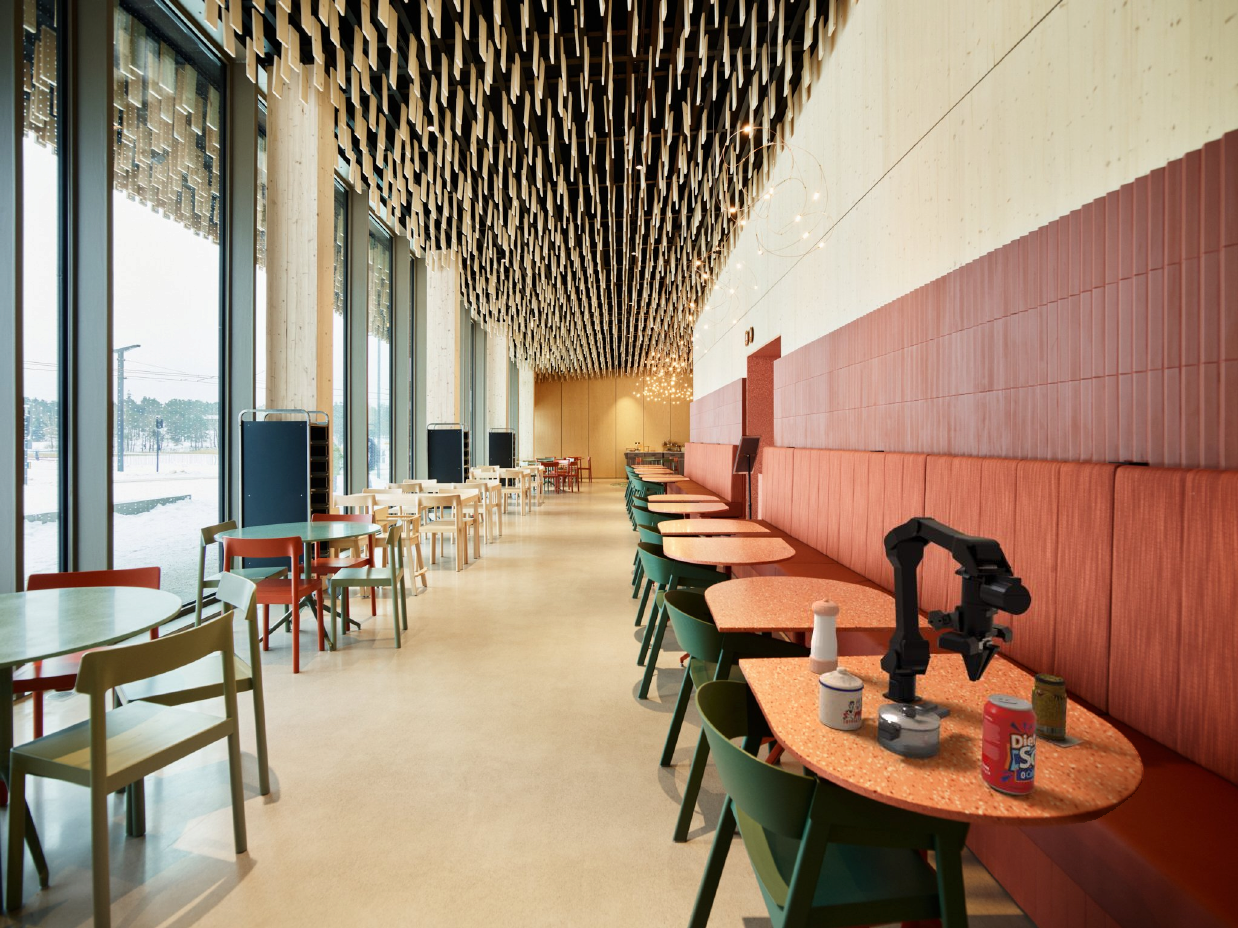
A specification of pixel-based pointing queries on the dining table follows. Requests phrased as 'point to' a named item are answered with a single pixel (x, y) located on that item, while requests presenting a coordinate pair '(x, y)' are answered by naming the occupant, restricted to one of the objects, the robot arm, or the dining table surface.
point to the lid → (911, 716)
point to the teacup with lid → (840, 700)
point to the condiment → (1051, 710)
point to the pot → (911, 738)
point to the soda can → (1009, 744)
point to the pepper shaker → (824, 637)
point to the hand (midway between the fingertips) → (974, 680)
